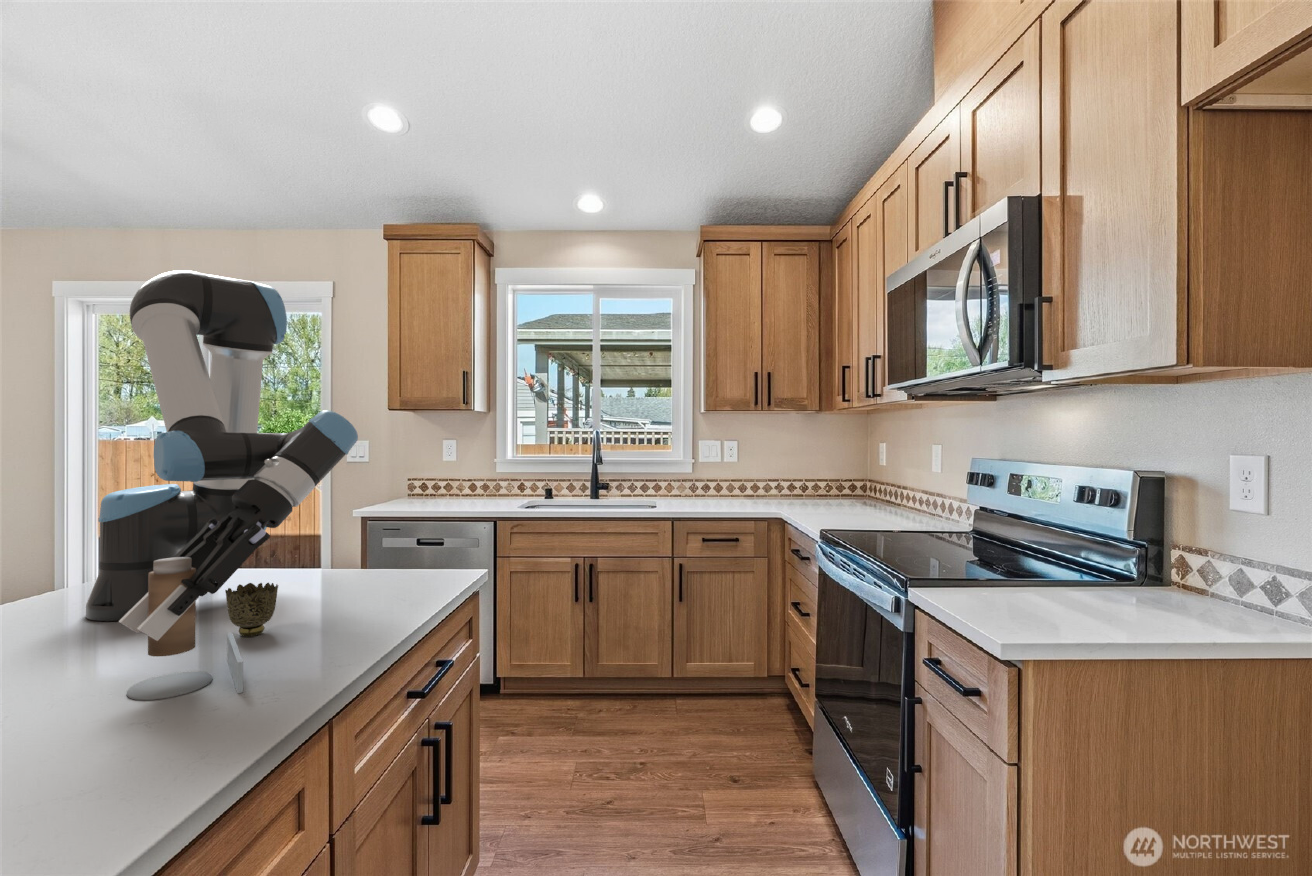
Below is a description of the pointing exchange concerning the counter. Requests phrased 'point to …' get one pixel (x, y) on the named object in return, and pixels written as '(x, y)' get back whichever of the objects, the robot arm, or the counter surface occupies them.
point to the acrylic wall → (235, 662)
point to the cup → (251, 607)
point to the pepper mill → (159, 588)
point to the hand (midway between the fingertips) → (138, 630)
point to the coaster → (169, 685)
